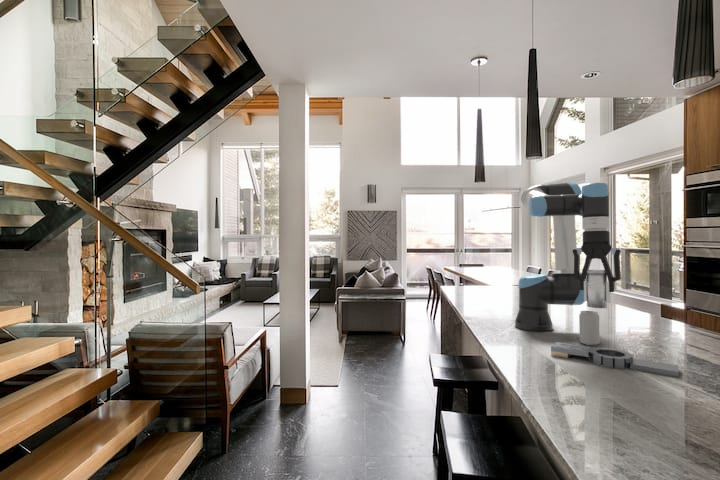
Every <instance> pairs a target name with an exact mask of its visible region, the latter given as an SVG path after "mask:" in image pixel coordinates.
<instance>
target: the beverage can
mask: <svg viewBox="0 0 720 480" xmlns="http://www.w3.org/2000/svg"><path fill="white" fill-rule="evenodd" d="M578 318H579V342H580V343H581V344H582V343H583V344H582V345H584V344H586V345H585V346H589V345H596V346H598V345H599V344H600V338H601V337H600V315H599V312H598V311H593V310H581V311H580V313H579V317H578Z"/></svg>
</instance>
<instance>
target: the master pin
mask: <svg viewBox="0 0 720 480" xmlns="http://www.w3.org/2000/svg"><path fill="white" fill-rule="evenodd" d="M586 273H587V276H586V279H587V301H586V303H587V304H586V307H587V308H592V309H607V308H608V303H606V282H608V277H607V274H606V271H605V269H589V270H586Z"/></svg>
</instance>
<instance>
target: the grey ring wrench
mask: <svg viewBox="0 0 720 480" xmlns="http://www.w3.org/2000/svg"><path fill="white" fill-rule="evenodd" d="M571 355H574V356H580V357H586V358H588V361H589V360H590V361H592V362H593V363H592V362H591V363H592V364H594V363H596V364H595V365H597V364H599V365H598V366H600V365H603V366H606V367H605V368H609V367H612V368H611V369H617V368H624V369H625V368H627V369H630V370H633V369H635V370H634V371H639V370H641V371H640V372H645V371H646V372H647V373H650V374H651V373H652V374H655V375H656V374H658V375H662V376H668V377H675V378H679V365H678V364H673V363H672V364H671V363H665V362H659V361H651V360H646V359H639V358H634V354H632V353H631V352H628V351H625V350H622V349H616V348H612V347H611V348H610V347H608V348H607V347H593V346H587V345H584V346H583V345H577V344H572V343H565V342H560V341H559V342H558V341H556V342H554V344H552V345H551V346H550V356H553V357H558V358H565V359H568V358H570V356H571ZM590 361H589V362H590ZM603 366H602V367H603ZM630 367H631V368H630Z"/></svg>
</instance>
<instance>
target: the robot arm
mask: <svg viewBox="0 0 720 480" xmlns="http://www.w3.org/2000/svg"><path fill="white" fill-rule="evenodd" d="M521 203H522V206H524V208H527V209H528V210H529V214H530V216H532V217H552V221H553V222H552V223H553V244H554V245H553V248H554V264H555V265H554V267H555V270H553V272H552V273H551V277H549V276H548V275H547V274H544V273H540V274H539V273H538V274H529V275H523V276H521V277H519V280H518V287H517V288H518V311H517V315H516V318H515V321H514V327H516V329H517V328H518V329H520V330H525V331H530V332H531V331H533V332H547V331H548V332H549V331H552V330H553V329H554V327H553V321H552V318H551V315H550V313H549V309H548V308H549V307H548V306H549V305H559V306H560V305H561V306H580V305H583V304H584V303H585V302H587V273H586V270H590V265H591V264H592V260H593V259H598V260H601V263H602V266H603V270H605V271H606V274H607V282H606V303H607V304H610V303H611V297H612V296H611V293H614V292H615V282H617V281H620V280H622V275H621V274H622V273H621V260H620V259H621V258H620V256H621V253H622V250H621V248H614V247H612V245H611V243H610V242H611V239H610V236H611V235H610V233H611V232H610V231H609V229H610V191H609V185H608V183H605V182H591V183H589V182H588V183H586V184H585V183H584V184H583V185H582V187H580V185H579V184H577V183H575V182H561V183H560V182H559V183H542V184H536V185H533V186H530V187H528V188H526V189H525V190H524V191H523V193H522V195H521ZM576 216H580V217H582V218H581V219H582V223H581V225H582V230H583V231H582V244H581V247H579V248H577V234H576V233H577V231H576ZM582 252H583V253H584V254H585V256H586V257H585V261H584V264H583V268H582V270H581V269H580V268H581V267H580V266H581V265H580V264H581V255H582ZM610 252H611V254H612V255H613V264H614V275H613V272H612V270H611V269H612V268H611V266H610V264H609V260H608V258H607V257H608V256H607V255H609V253H610ZM580 270H581V271H580Z"/></svg>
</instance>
